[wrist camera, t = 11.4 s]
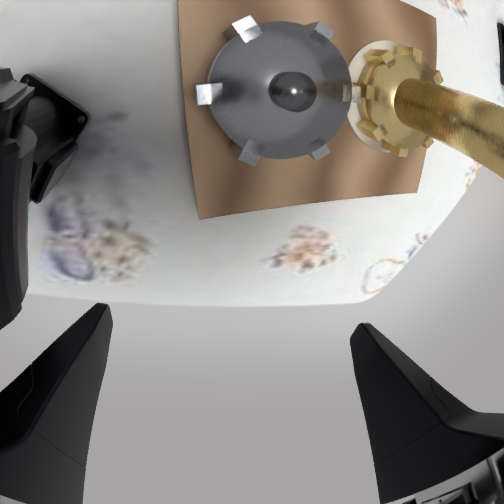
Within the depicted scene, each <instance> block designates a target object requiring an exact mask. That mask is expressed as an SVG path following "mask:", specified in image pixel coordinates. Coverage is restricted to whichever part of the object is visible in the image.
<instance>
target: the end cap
mask: <svg viewBox="0 0 504 504" xmlns="http://www.w3.org/2000/svg"><path fill="white" fill-rule="evenodd" d="M497 28H498V37H499V49H500V81H501V84H502V85H504V25H503V24H500V23H497Z"/></svg>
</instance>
